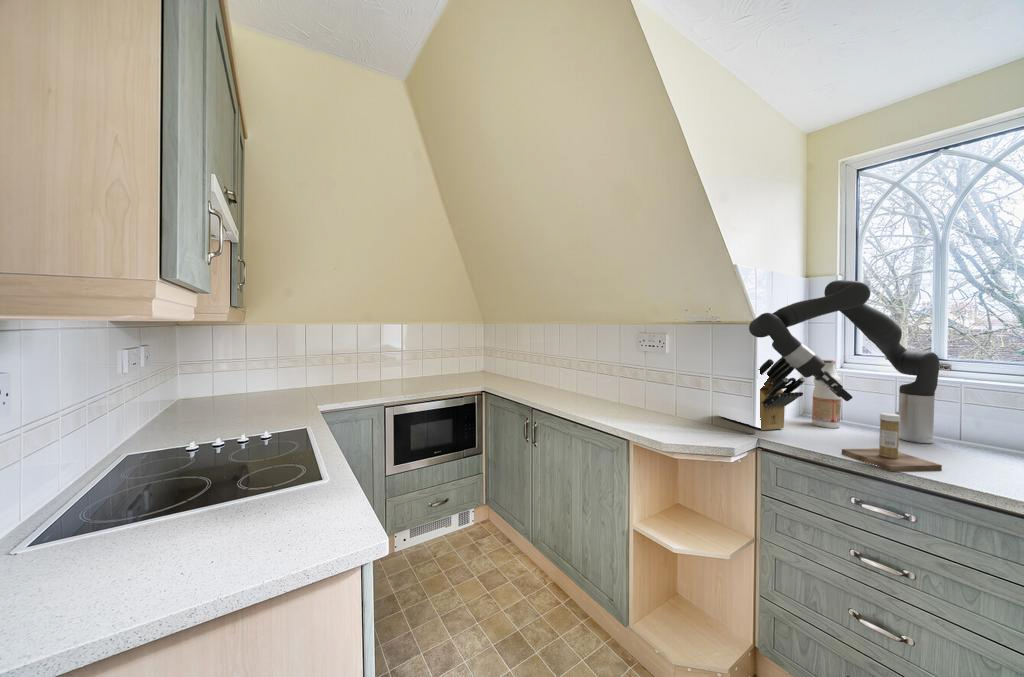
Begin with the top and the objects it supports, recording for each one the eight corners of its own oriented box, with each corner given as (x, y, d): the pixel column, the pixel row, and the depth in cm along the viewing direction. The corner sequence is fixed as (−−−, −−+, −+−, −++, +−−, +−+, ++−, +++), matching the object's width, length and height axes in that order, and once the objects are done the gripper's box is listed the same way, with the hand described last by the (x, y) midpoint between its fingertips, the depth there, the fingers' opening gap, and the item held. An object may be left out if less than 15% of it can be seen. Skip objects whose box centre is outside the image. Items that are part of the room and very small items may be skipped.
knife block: (781, 438, 149) (784, 356, 148) (714, 416, 183) (716, 350, 182) (806, 436, 152) (808, 355, 150) (735, 415, 186) (736, 349, 185)
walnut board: (841, 453, 131) (841, 449, 131) (886, 452, 132) (886, 448, 132) (891, 471, 115) (891, 466, 115) (941, 470, 116) (941, 465, 116)
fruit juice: (817, 427, 165) (820, 360, 164) (807, 422, 174) (809, 358, 173) (844, 429, 162) (847, 361, 161) (833, 423, 171) (835, 359, 170)
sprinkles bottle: (900, 457, 123) (902, 414, 123) (895, 460, 121) (897, 416, 120) (880, 453, 127) (882, 411, 126) (876, 455, 124) (877, 413, 124)
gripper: (818, 354, 125) (864, 393, 120) (809, 351, 138) (850, 387, 133) (797, 369, 128) (841, 408, 123) (790, 365, 141) (829, 401, 136)
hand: (845, 397), depth 128 cm, fingers open, 8 cm apart
